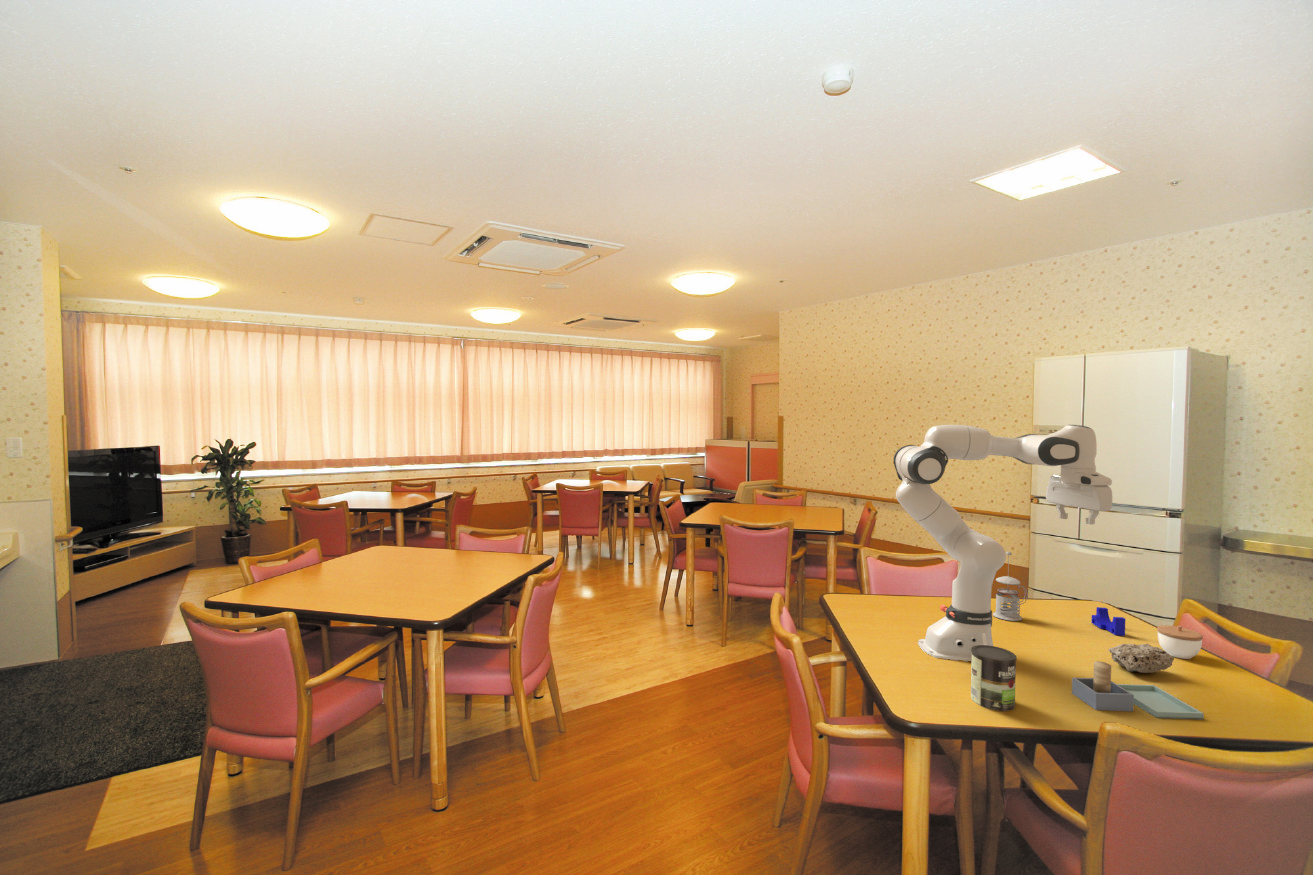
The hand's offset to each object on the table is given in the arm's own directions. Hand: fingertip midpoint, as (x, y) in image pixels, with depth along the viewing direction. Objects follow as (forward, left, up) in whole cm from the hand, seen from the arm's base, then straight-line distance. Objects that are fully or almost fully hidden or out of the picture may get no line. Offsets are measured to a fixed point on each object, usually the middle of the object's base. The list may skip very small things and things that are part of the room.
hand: (1076, 521), depth 178 cm
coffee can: (-41, -31, -44) cm, 67 cm away
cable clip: (+31, +29, -44) cm, 61 cm away
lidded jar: (+36, +6, -44) cm, 57 cm away
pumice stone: (+14, -8, -44) cm, 47 cm away
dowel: (-12, -29, -43) cm, 53 cm away
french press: (+2, +40, -44) cm, 59 cm away
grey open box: (-12, -29, -44) cm, 54 cm away
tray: (+2, -29, -44) cm, 53 cm away
